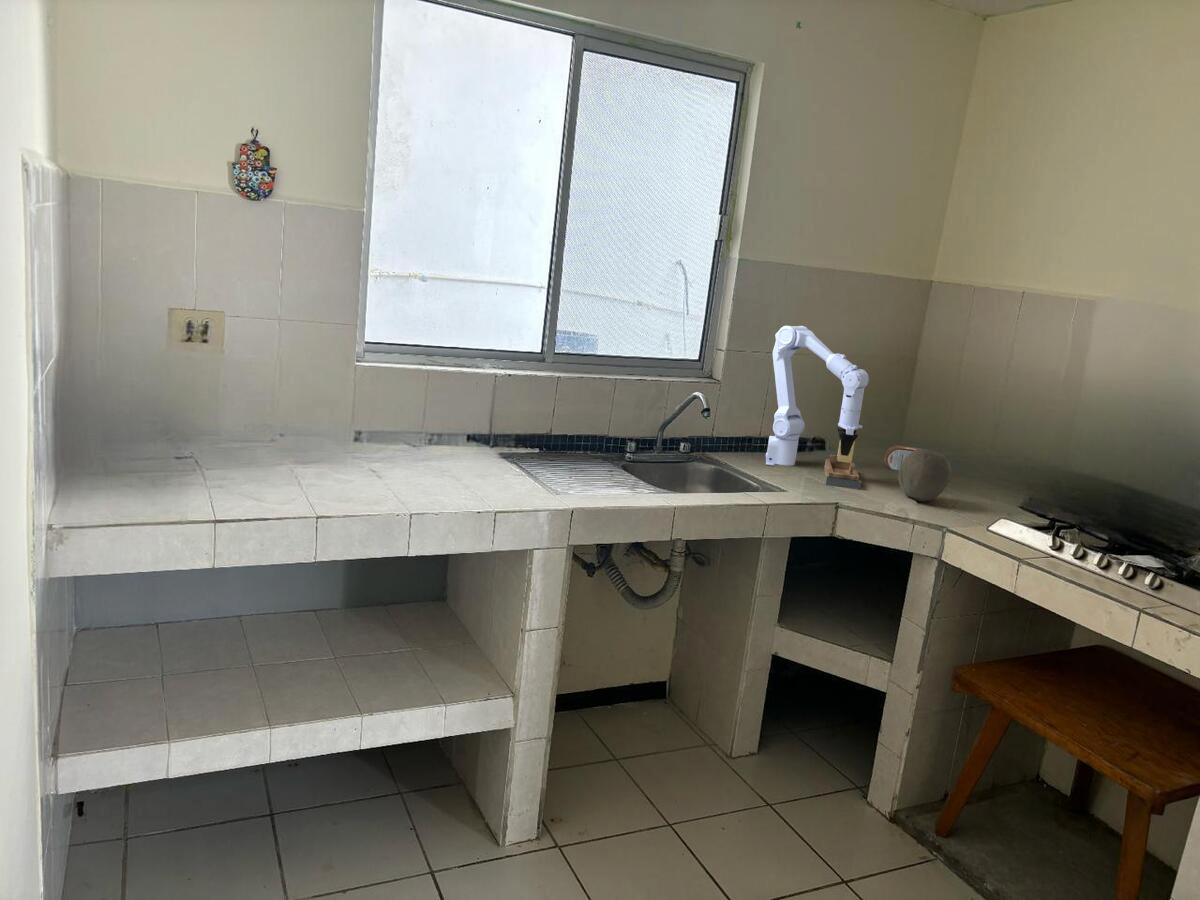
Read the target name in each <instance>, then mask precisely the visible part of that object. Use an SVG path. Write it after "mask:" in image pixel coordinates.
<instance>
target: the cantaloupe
mask: <svg viewBox="0 0 1200 900" xmlns="http://www.w3.org/2000/svg"><path fill="white" fill-rule="evenodd" d="M952 473H953V469H952V466H951V463H950V461H949V459H948V458H947V457H946V456H945V454H943V453H941V452H939V451H937V450H933V449H930V448H929V449H928V448H921V449H917V450H914V451H912V452H911V453H910V454H908V455H907V457H906V458H905V459H904V460H903V462H902V464H901V466H900V469H899V471H898V473H897V474H898V475H897V477H898V478H897V479H898V483H899V486H900V489H901V491H902V492H903V493H904V494H905V495H906V496H907V497H909V498H911V499H913V500H914V501H916V502H921V503H922V502H928V501H931V500H934V499H936V498H937V497H938V496H940V495H941V494H942V493H943V492H944V490H945V489H946V488H947V486H948V484H949V483H950V481H951V478H952Z"/></svg>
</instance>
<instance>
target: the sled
mask: <svg viewBox="0 0 1200 900" xmlns="http://www.w3.org/2000/svg"><path fill="white" fill-rule="evenodd" d="M837 455H838V454H837ZM837 455H836V454H830V455H829V458H825V461H824V467H823V469H824V473H825V474H824V475H825V477H826V476H830V477H837V478H845V479H852V480H859V479H860V476H859V472H858V470H857V467H856V465H855V463H854V461H852V462H851V463H847V462H839V461H837ZM859 481H860V480H859Z"/></svg>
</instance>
